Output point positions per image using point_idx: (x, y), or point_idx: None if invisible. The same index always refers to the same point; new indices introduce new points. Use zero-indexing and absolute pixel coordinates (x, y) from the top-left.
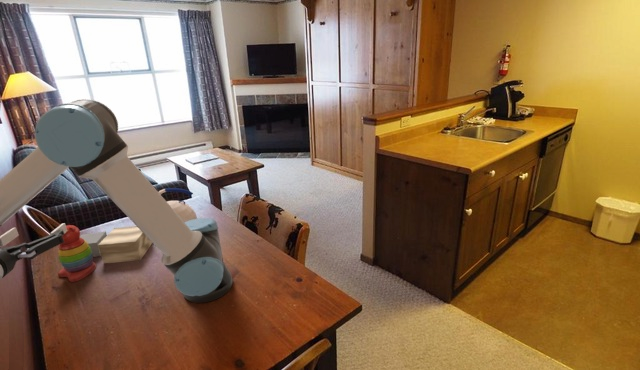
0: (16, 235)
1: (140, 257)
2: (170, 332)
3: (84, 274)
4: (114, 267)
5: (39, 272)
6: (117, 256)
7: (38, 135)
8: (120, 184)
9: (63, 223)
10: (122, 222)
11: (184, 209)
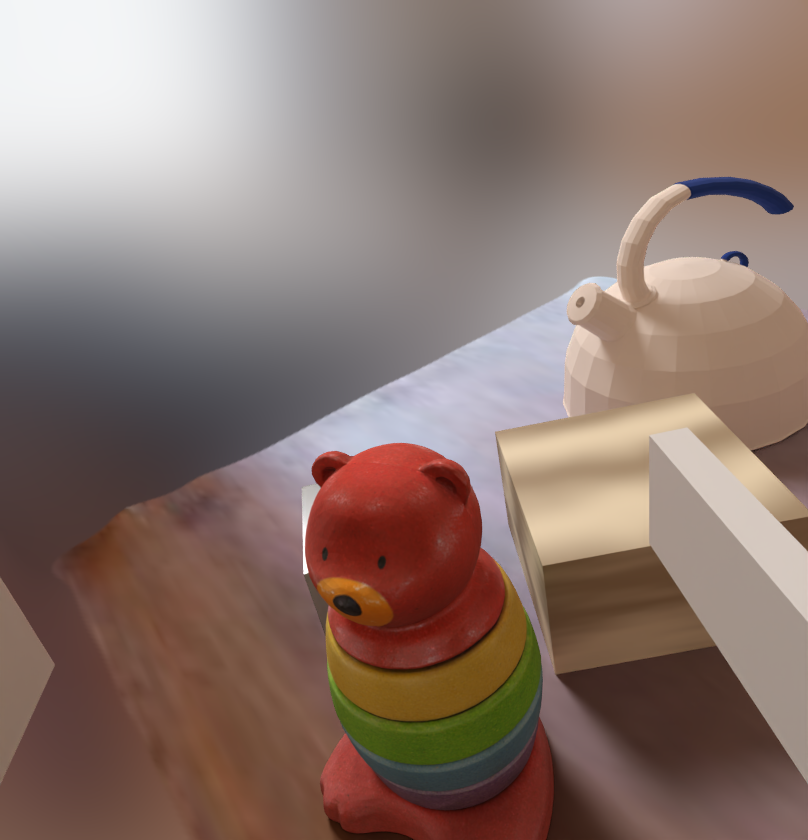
0: (29, 684)
1: None
2: None
3: (546, 818)
4: (680, 714)
5: (170, 774)
6: (654, 625)
7: None
8: None
9: (675, 435)
10: (387, 403)
11: (782, 292)
